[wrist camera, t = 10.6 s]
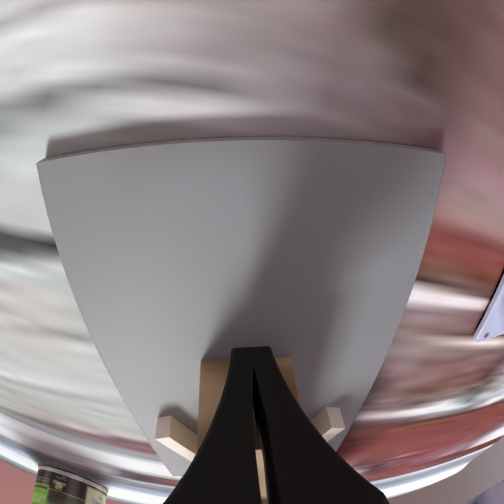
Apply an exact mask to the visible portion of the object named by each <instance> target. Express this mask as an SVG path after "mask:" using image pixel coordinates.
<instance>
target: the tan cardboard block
mask: <svg viewBox="0 0 504 504" xmlns="http://www.w3.org/2000/svg"><path fill="white" fill-rule="evenodd" d="M275 360H276V363H277V365H278V367H279V369H280V372H281V374H282V376H283V378H284V380H285V381H286V383H287V385H288V387H289V389H290V390H291V392H292V394H293V396H294V397H295V399H296V401H297V402H298V404H299V405H300V403H299V398H298V393H297V388H296V383H295V378H294V374H293V369H292V364H291V359H290V357H282V358H275ZM229 364H230V360H225V361H201V364H200V385H199V411H198V447H197V452H198V450H199V448H200V446H201V444H202V442H203V440H204V438H205V436H206V434H207V432H208V429H209V427H210V425H211V423H212V420H213V418H214V415H215V412H216V410H217V407H218V404H219V402H220V399H221V396H222V392H223V389H224V386H225V382H226V378H227V374H228V370H229ZM253 432H254V442H255V451H256V460H257V468H258V477H259V485H260V493H261V501H262V503H266V502H267V494H266V483H265V472H264V462H263V456H262V450H261V445H260V440H259V435H258V430H257V424H256V419H255V414H254V408H253Z"/></svg>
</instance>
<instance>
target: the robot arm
mask: <svg viewBox="0 0 504 504" xmlns="http://www.w3.org/2000/svg"><path fill="white" fill-rule="evenodd" d="M502 334H504V274H503V276H502V279H501V281H500V283H499V286H498V288H497V290H496V292H495V294H494V297H493V299H492V301H491V303H490V305H489V307H488V309H487V311H486V313H485V315H484V317H483V319H482V321H481V323H480V324H479V326H478V328H477V330H476V332H475V334H474V339H475V341H476V342H480V341H483V340H486V339H489V338H493V337H496V336H499V335H502ZM253 408H254V414H255V419H256V424H257V430H258V435H259V440H260V445H261V450H262V456H263V462H264V472H265V483H266V494H267V504H389V502H388V500H387V498H386V496H385V495H384V493H383V492H382V491H380V490H379V489H378V488H376V487H375V486H374V485H372V484H371V483H370V482H368V481H367V480H366V479H365V478H363V477H362V476H361V475H360V474H359V473H358V472H356V471H355V470H354V469H353V468H352V467H351V466H350V465H349V464H348V463H347V462H346V461H345V460H344V459H343V458H342V457H341V456H340V455H339V454H338V453H337V452H336V451H335V450H334V449H333V448H332V447H331V446H330V445H329V444H328V442H327V441H326V440H325V439H324V438H323V437H322V435H321V434H320V433H319V432H318V430H317V429H316V428H315V427H314V425H313V424H312V423H311V421H310V420H309V419H308V417H307V416H306V414H305V413H304V411H303V410H302V408H301V407H300V405H299V404H298V402H297V401H296V399H295V397H294V396H293V394H292V392H291V390H290V389H289V387H288V385H287V383H286V381H285V380H284V378H283V376H282V374H281V372H280V369H279V367H278V365H277V363H276V360H275V358H274V355H273V352H272V349H271V348H270V347H269V346H259V347H239V348H233V349H231V357H230V364H229V370H228V374H227V378H226V382H225V386H224V389H223V392H222V396H221V399H220V402H219V404H218V407H217V410H216V412H215V415H214V418H213V420H212V423H211V425H210V427H209V429H208V432H207V434H206V436H205V438H204V440H203V442H202V444H201V446H200V448H199V450H198V452H197V453H196V455H195V457H194V459H193V461H192V462H191V464H190V466H189V467H188V469H187V471H186V472H185V474H184V475H183V477H182V478H181V480H180V481H179V483H178V484H177V486H176V487H175V489H174V490H173V491H172V493H171V494H170V495H169V497H168V498H167V499H166V501H165V502H164V503H163V504H262V501H261V493H260V485H259V477H258V468H257V460H256V451H255V442H254V432H253ZM464 504H504V480H502V481H501V482H499V483H498V484H496V485H495V486H493V487H492V488H490V489H488V490H487V491H485V492H483V493H482V494H480V495H478V496H477V497H475V498H473V499H471V500H470V501H468V502H466V503H464Z"/></svg>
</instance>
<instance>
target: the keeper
mask: <svg viewBox="0 0 504 504" xmlns="http://www.w3.org/2000/svg"><path fill="white" fill-rule="evenodd" d="M445 157H446V154H445V153H443V152H441V151H439V150H437V149H430V148H423V147H416V146H408V145H400V144H392V143H382V142H372V141H361V140H348V139H332V138H311V137H221V138H200V139H184V140H171V141H159V142H149V143H139V144H131V145H122V146H115V147H107V148H100V149H94V150H87V151H81V152H75V153H70V154H64V155H59V156H53V157H48V158H44V159H43V160H41V161H39V162H37V163H36V164H37V169H38V174H39V179H40V184H41V189H42V193H43V197H44V202H45V206H46V210H47V214H48V217H49V221H50V225H51V228H52V232H53V235H54V239H55V242H56V245H57V249H58V252H59V255H60V258H61V261H62V264H63V267H64V270H65V273H66V276H67V278H68V281H69V284H70V287H71V289H72V292H73V295H74V297H75V300H76V302H77V305H78V307H79V310H80V312H81V315H82V317H83V319H84V322H85V324H86V326H87V329H88V331H89V333H90V336H91V338H92V340H93V342H94V344H95V346H96V349H97V351H98V353H99V355H100V357H101V359H102V361H103V363H104V365H105V367H106V369H107V371H108V373H109V375H110V377H111V379H112V380H113V382H114V384H115V386H116V388H117V390H118V392H119V393H120V395H121V397H122V399H123V400H124V402H125V404H126V406H127V407H128V409H129V411H130V413H131V414H132V416H133V418H134V419H135V421H136V422H137V424H138V426H139V427H140V429H141V430H142V432H143V434H144V435H145V437H146V438H147V440H148V441H149V443H150V444H151V446H152V447H153V449H154V450H155V452H156V453H157V455H158V456H159V457H160V459H161V460H162V462H163V463H164V465H165V466H166V467H167V469H168V470H169V471H170V473H171V474H172V475H173V476H183V475H184V474H185V472H186V471H187V469H188V467H189V466H190V464H191V462H192V461H193V459H194V457H195V455H196V453H197V447H198V411H199V385H200V364H201V361H225V360H230V357H231V349H233V348H239V347H259V346H269V347H270V348H271V349H272V352H273V355H274V358H282V357H290V359H291V364H292V369H293V374H294V378H295V383H296V388H297V393H298V398H299V403H300V407H301V408H302V410H303V411H304V413H305V414H306V416H307V417H308V419H309V420H310V421H311V423H312V424H313V425H314V427H315V428H316V429H317V430H318V432H319V433H320V434H321V435H322V437H323V438H324V439H325V440H326V441H327V442H328V444H329V445H330V446H331V447H332V448H333V449H334V450H335V451H337V450H338V448H339V446H340V445H341V443H342V441H343V440H344V438H345V436H346V434H347V433H348V431H349V429H350V427H351V426H352V424H353V422H354V420H355V418H356V416H357V415H358V413H359V411H360V409H361V407H362V405H363V403H364V401H365V399H366V397H367V395H368V393H369V391H370V389H371V387H372V385H373V383H374V381H375V379H376V377H377V375H378V373H379V370H380V368H381V366H382V364H383V362H384V359H385V357H386V355H387V353H388V350H389V348H390V346H391V343H392V341H393V338H394V336H395V333H396V331H397V328H398V326H399V323H400V321H401V318H402V316H403V313H404V310H405V308H406V305H407V302H408V299H409V296H410V294H411V291H412V288H413V285H414V282H415V279H416V276H417V273H418V270H419V266H420V263H421V260H422V256H423V253H424V250H425V246H426V243H427V239H428V235H429V232H430V228H431V224H432V220H433V216H434V212H435V207H436V203H437V199H438V194H439V189H440V184H441V179H442V174H443V169H444V163H445ZM262 504H267V502H266V503H262Z"/></svg>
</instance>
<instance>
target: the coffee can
mask: <svg viewBox="0 0 504 504" xmlns="http://www.w3.org/2000/svg"><path fill="white" fill-rule="evenodd" d="M38 469H39V470H38V474H37V479H36V483H35V488H34V493H33V498H32V503H31V504H106V497H107V493H108V491H107V489H105V488H104V487H102V486H101V485H99V484H97V483H95V482H92V481H90V480H88V479H85V478H83V477H80V476H78V475H75V474H72V473H70V472H67V471H64V470H61V469H58V468H54V467H50V466H45V465H40V466H39V467H38Z"/></svg>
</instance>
